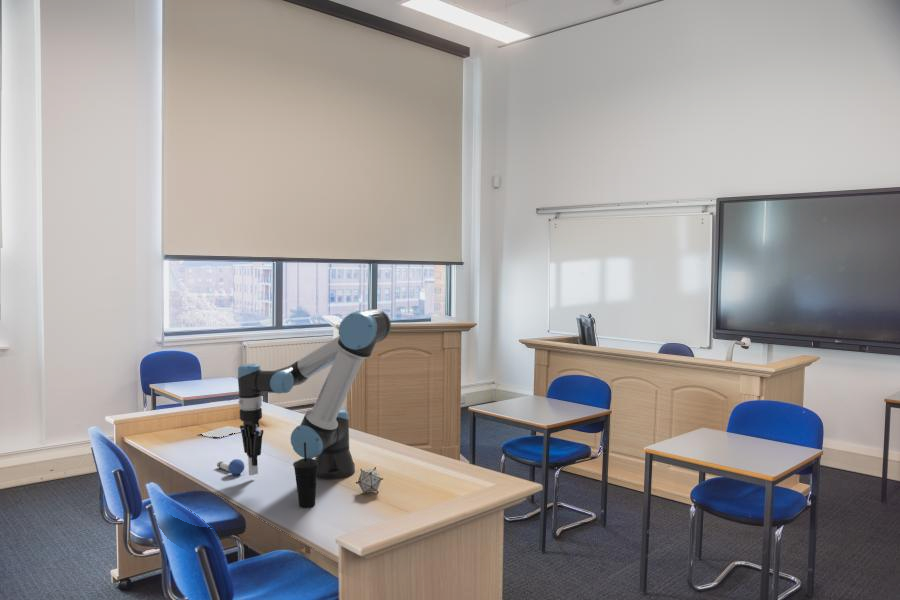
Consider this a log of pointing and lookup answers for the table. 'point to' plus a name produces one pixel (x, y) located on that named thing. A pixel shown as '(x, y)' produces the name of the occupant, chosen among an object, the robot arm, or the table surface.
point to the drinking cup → (306, 480)
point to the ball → (236, 467)
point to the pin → (223, 465)
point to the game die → (369, 480)
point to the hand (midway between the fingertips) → (253, 474)
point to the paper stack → (222, 431)
